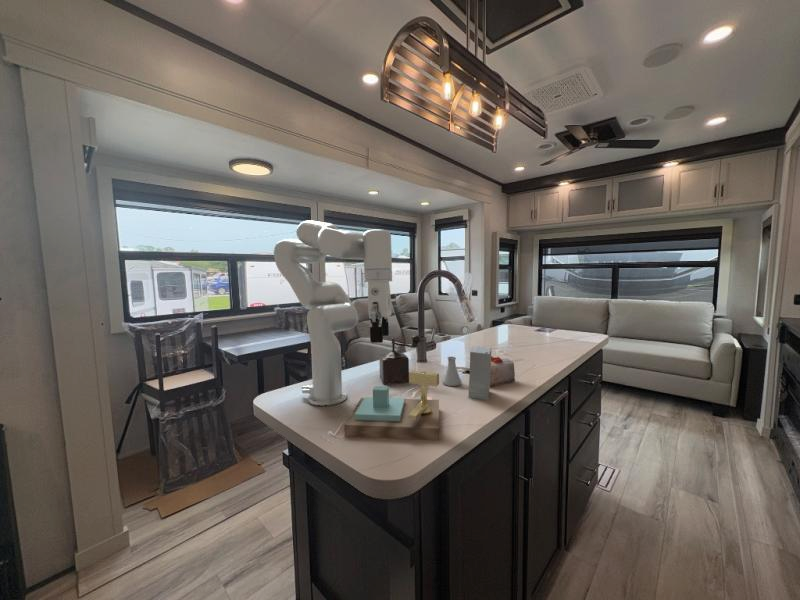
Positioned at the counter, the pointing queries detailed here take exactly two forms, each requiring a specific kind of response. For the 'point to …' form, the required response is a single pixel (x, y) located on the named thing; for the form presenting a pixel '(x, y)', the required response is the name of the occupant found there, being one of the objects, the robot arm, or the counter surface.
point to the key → (422, 391)
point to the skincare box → (479, 372)
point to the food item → (501, 371)
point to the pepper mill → (396, 364)
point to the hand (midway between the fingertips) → (380, 338)
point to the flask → (451, 373)
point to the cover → (380, 406)
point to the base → (397, 424)
